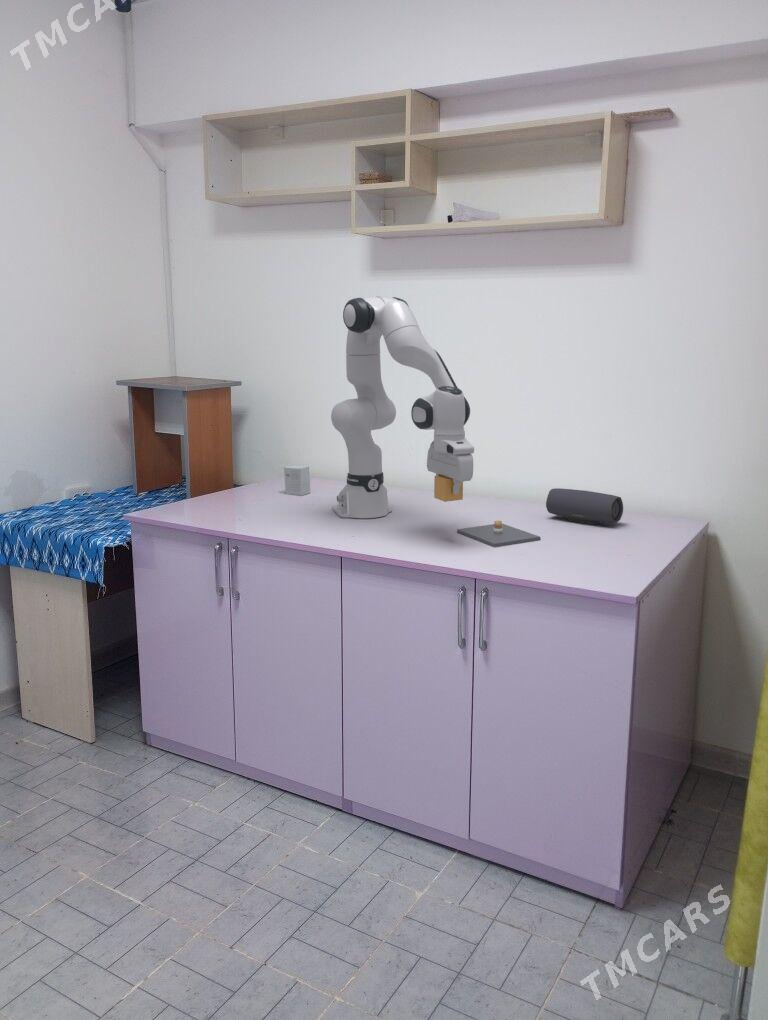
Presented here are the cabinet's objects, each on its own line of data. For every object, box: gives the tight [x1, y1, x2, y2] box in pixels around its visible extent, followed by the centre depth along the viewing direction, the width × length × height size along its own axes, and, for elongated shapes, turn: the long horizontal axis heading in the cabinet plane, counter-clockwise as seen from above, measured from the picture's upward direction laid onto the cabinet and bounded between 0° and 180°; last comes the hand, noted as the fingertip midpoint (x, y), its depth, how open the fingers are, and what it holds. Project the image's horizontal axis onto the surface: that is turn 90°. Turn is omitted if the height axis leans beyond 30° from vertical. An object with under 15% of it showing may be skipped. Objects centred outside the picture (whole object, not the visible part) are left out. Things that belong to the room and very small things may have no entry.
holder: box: [456, 520, 541, 548], centre depth 247 cm, size 20×16×4 cm
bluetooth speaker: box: [545, 488, 624, 525], centre depth 263 cm, size 23×9×10 cm, turn 48°
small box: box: [283, 464, 311, 496], centre depth 315 cm, size 8×6×10 cm
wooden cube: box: [433, 475, 464, 503], centre depth 240 cm, size 6×6×6 cm
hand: (448, 491), depth 241 cm, fingers closed on wooden cube, 6 cm apart
